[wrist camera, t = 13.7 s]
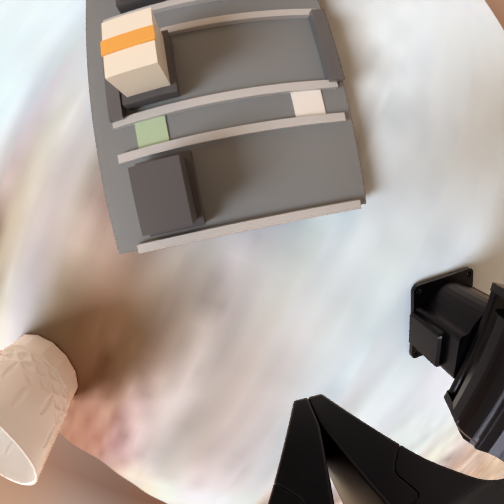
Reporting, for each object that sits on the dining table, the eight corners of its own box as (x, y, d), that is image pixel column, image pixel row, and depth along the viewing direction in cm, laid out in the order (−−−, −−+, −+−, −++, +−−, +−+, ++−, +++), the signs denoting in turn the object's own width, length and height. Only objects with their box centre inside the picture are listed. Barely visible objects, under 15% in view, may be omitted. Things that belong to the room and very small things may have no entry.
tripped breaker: (170, 38, 14) (155, -3, 10) (180, 96, 15) (165, 67, 11) (122, 52, 14) (94, 18, 10) (129, 110, 15) (98, 87, 11)
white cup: (18, 307, 19) (-60, 369, 9) (96, 365, 20) (44, 456, 11) (4, 370, 20) (-52, 432, 10) (72, 418, 21) (33, 498, 12)
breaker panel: (290, -47, 15) (305, -86, 10) (356, 203, 19) (396, 212, 14) (93, -11, 14) (69, -45, 9) (127, 251, 19) (97, 273, 14)
